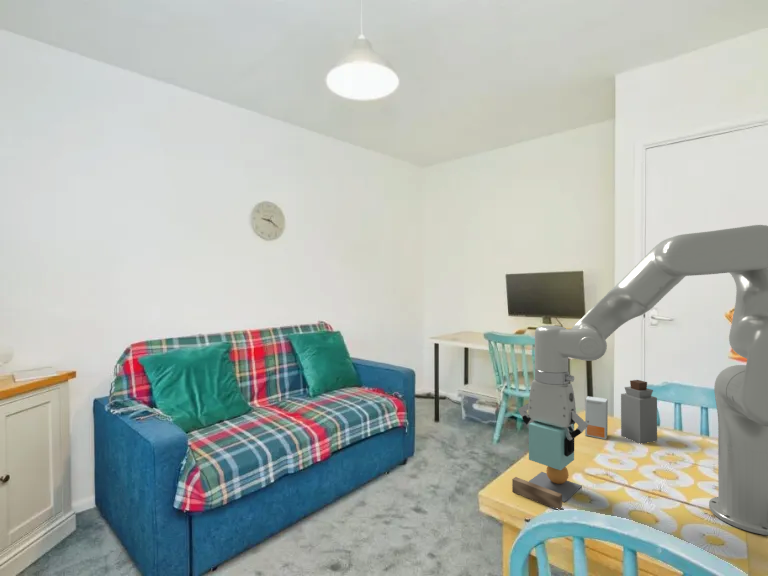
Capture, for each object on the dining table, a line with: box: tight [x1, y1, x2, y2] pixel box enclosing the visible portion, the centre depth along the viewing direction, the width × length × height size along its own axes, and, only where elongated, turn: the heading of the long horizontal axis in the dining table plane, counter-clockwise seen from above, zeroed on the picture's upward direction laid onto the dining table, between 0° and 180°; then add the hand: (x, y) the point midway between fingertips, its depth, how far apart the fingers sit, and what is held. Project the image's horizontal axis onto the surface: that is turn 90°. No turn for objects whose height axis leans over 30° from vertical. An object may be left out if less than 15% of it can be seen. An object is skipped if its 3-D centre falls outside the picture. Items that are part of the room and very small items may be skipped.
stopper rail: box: [511, 476, 563, 510], centre depth 91 cm, size 11×2×3 cm, turn 43°
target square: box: [527, 471, 582, 503], centre depth 97 cm, size 10×10×1 cm
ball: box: [545, 466, 569, 484], centre depth 99 cm, size 5×5×5 cm
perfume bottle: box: [620, 379, 658, 445], centre depth 125 cm, size 7×7×18 cm
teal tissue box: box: [528, 422, 575, 470], centre depth 97 cm, size 8×8×9 cm
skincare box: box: [584, 395, 609, 441], centre depth 128 cm, size 6×4×12 cm
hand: (550, 448), depth 97 cm, fingers closed on teal tissue box, 7 cm apart
